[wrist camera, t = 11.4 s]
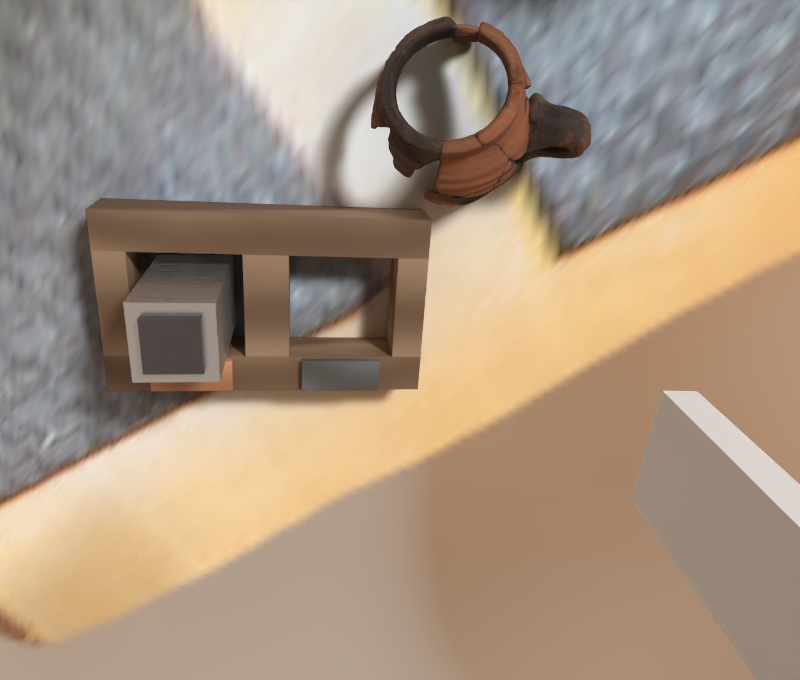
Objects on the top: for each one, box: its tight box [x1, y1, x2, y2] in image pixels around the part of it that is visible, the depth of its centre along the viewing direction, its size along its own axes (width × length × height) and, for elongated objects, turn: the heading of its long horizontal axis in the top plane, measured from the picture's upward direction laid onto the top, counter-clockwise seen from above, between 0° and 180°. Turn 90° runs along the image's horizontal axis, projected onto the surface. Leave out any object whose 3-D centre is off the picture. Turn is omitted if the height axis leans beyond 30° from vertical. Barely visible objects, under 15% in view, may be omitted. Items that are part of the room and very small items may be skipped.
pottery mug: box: [371, 17, 591, 205], centre depth 37 cm, size 12×10×8 cm
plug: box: [123, 254, 236, 383], centre depth 37 cm, size 4×4×9 cm
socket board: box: [85, 198, 432, 391], centre depth 40 cm, size 11×19×3 cm, turn 86°
